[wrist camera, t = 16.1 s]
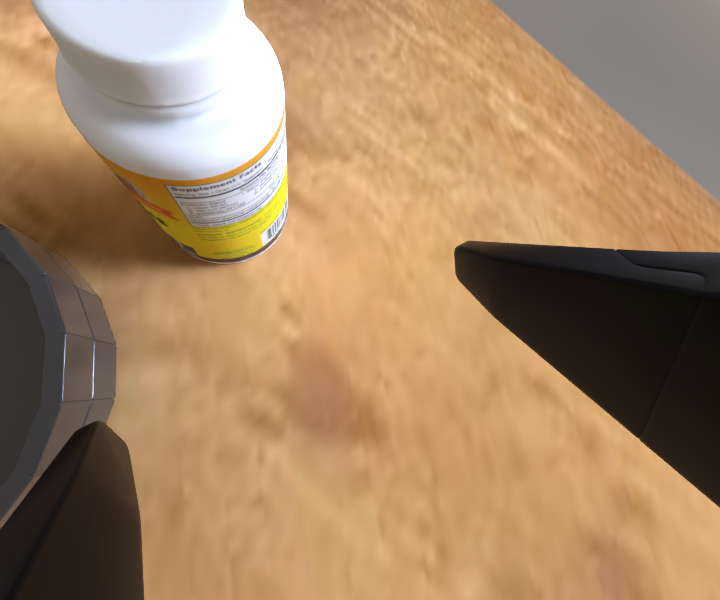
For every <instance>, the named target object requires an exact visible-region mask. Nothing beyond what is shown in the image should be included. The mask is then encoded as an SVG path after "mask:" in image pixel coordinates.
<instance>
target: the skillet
mask: <svg viewBox="0 0 720 600" xmlns="http://www.w3.org/2000/svg"><path fill="white" fill-rule="evenodd" d="M115 381H116V342H115V339H114V336H113V333H112V330H111V328H110V325H109V322H108V319H107V316H106V314H105V311H104V308H103V305H102V302H101V299H100V298H99V296H98V295H97V294H96V293H95V291H94V290H93V289H92V288H91V287H90V286H89V284H88V283H87V282H86V281H85V280H84V279H83V277H82V276H81V275H80V274H79V273H78V272H77V270H76V269H75V268H74V267H73V266H72V265H71V263H70V262H69V261H67V259H65V258H63V257H61V256H60V255H58V254H56V253H54V252H53V251H51V250H49V249H47V248H46V247H44V246H42V245H41V244H39V243H37V242H35V241H34V240H32V239H30V238H28V237H27V236H25V235H23V234H21V233H19V232H18V231H16V230H14V229H12V228H11V227H9V226H7V225H5V224H3V223H2V222H0V529H1V528H2V526H3V525H4V524H5V523H6V521H7V520H8V519H9V517H10V516H11V515H12V513H13V512H14V511H15V509H16V508H17V507H18V505H19V504H20V503H21V502H22V500H23V499H24V498H25V496H26V495H27V494H28V492H29V491H30V490H31V488H32V487H33V486H34V485H35V483H36V482H37V481H38V479H39V478H40V477H41V475H42V474H43V473H44V471H45V470H46V469H47V467H48V466H49V465H50V464H51V462H52V461H53V460H54V458H55V457H56V456H57V454H58V453H59V452H60V450H61V449H62V448H63V446H64V445H65V444H66V443H67V441H68V440H69V439H70V437H71V436H72V435H73V433H74V432H75V431H76V430H78V429H80V428H82V427H84V426H86V425H88V424H90V423H92V422H94V421H102V422H104V423H105V424H106V422H107V420H108V417H109V414H110V411H111V408H112V406H113V403H114V399H113V398H115Z"/></svg>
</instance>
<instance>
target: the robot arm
mask: <svg viewBox="0 0 720 600" xmlns="http://www.w3.org/2000/svg"><path fill="white" fill-rule="evenodd" d="M454 256H455V272H456V276H457V278H458V280H459V281H460V282H461V283H462V284H463V285H464V286H465V288H466V289H467V290H468V291H469V292H470V293H471V294H472V295H473V296H474V297H475V298H476V299H477V300H478V301H479V302H480V303H481V304H482V305H483V306H484V307H485V308H486V309H487V310H488V312H490V313H491V314H492V315H493V316H494V317H495V318H496V319H497V320H498V321H499V322H500V323H501V324H503V325H504V326H505V327H506V328H507V329H509V330H510V331H511V332H512V333H513V334H515V335H516V336H517V337H518V338H519V339H520V340H522V341H523V342H524V343H525V344H526V345H528V346H529V347H530V348H531V349H532V350H534V351H535V352H536V353H537V354H538V355H539V356H541V357H542V358H543V359H544V360H545V361H547V362H548V363H549V364H550V365H551V366H553V367H554V368H555V369H556V370H557V371H558V372H560V373H561V374H562V375H563V376H564V377H566V378H567V379H568V380H569V381H570V382H572V383H573V384H574V385H575V386H576V387H578V388H579V389H580V390H581V391H582V392H583V393H585V394H586V395H587V396H588V397H589V398H591V399H592V400H593V401H594V402H595V403H597V404H598V405H599V406H600V407H601V408H602V409H604V410H605V411H606V412H607V413H608V414H610V415H611V416H612V417H613V418H614V419H616V420H617V421H618V422H619V423H620V424H621V425H623V426H624V427H625V428H626V429H627V430H629V431H630V432H631V433H632V434H633V435H635V436H636V437H637V438H640V441H641V442H643V443H644V444H645V445H646V446H647V447H648V448H650V449H651V450H652V451H653V452H654V453H656V454H657V455H658V456H659V457H660V458H662V459H663V460H664V461H665V462H666V463H668V464H669V465H670V466H671V467H672V468H673V469H675V470H676V471H677V472H678V473H679V474H681V475H682V476H683V477H684V478H685V479H687V480H688V481H689V482H690V483H691V484H692V485H694V486H695V487H696V488H697V489H698V490H700V491H701V492H702V493H703V494H704V495H706V496H707V497H708V498H709V499H710V500H711V501H713V502H714V503H715V504H716V505H717V506H719V507H720V253H710V252H661V251H639V250H621V249H617V250H616V251H615V250H614V249H602V248H585V247H568V246H550V245H533V244H516V243H498V242H481V241H467V242H465V243H463V244H461V245H459V246H457V247H456V248H455V251H454ZM0 600H144V585H143V562H142V539H141V521H140V512H139V505H138V500H137V494H136V488H135V483H134V477H133V471H132V466H131V460H130V454H129V450H128V447H127V445H126V443H125V442H124V441H123V440H122V439H121V438H120V437H119V436H118V435H117V434H116V433H115V432H114V431H113V430H112V429H110V428H109V427H108V426H107V425H106V424H105V423H104V422H102V421H94V422H92V423H90V424H88V425H86V426H84V427H82V428H80V429H78V430H76V431H75V432H74V433H73V435H72V436H71V437H70V439H69V440H68V441H67V443H66V444H65V445H64V446H63V448H62V449H61V450H60V452H59V453H58V454H57V456H56V457H55V458H54V460H53V461H52V462H51V464H50V465H49V466H48V467H47V469H46V470H45V471H44V473H43V474H42V475H41V477H40V478H39V479H38V481H37V482H36V483H35V485H34V486H33V487H32V488H31V490H30V491H29V492H28V494H27V495H26V496H25V498H24V499H23V500H22V502H21V503H20V504H19V505H18V507H17V508H16V509H15V511H14V512H13V513H12V515H11V516H10V517H9V519H8V520H7V521H6V523H5V524H4V525H3V526H2V528H1V529H0Z"/></svg>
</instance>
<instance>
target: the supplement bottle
mask: <svg viewBox="0 0 720 600" xmlns="http://www.w3.org/2000/svg"><path fill="white" fill-rule="evenodd" d="M31 1H32V4H33V6H34V8H35V10H36V12H37V14H38V16H39V17H40V19H41V20H42V22H43V23H44V25H45V26H46V28H47V29H48V31H49V32H50V34H51V35H52V37H53V38H54V40H55V41H56V43H57V45H58V48H59V50H58V54H57V59H56V69H55V70H56V82H57V89H58V93H59V96H60V99H61V102H62V105H63V107H64V109H65V111H66V113H67V115H68V116H69V118H70V120H71V122H72V123H73V124H74V126H75V127H76V128H77V130H78V131H79V132H80V133H81V135H82V136H83V137H84V139H85V140H86V141H87V142H88V143H89V145H90V146H91V147H92V148H93V149H94V150H95V151H96V153H97V154H98V155H99V156H100V157H101V158H102V160H103V161H104V162H105V163H106V164H107V165H108V167H109V168H110V169H111V170H112V171H113V172H114V173H115V175H116V176H117V177H118V178H119V179H120V180H121V182H122V183H123V184H124V185H125V186H126V187H127V189H128V190H129V191H130V192H131V193H132V194H133V195H134V197H135V198H136V199H137V200H138V202H139V203H140V204H141V205H142V206H143V207H144V208H145V210H146V211H147V212H148V213H149V214H150V215H151V216H152V217H153V219H154V220H155V221H156V222H157V223H158V224H159V226H160V227H161V228H162V229H163V230H164V231H165V233H166V234H167V235H168V236H169V237H170V238H171V239H172V240H173V241H174V242H175V243H176V244H177V245H178V246H179V247H180V248H181V249H183V250H184V251H185V252H187V253H188V254H190V255H192V256H194V257H196V258H198V259H201V260H203V261H207V262H211V263H217V264H234V263H240V262H244V261H247V260H250V259H253V258H255V257H257V256H259V255H260V254H262V253H263V252H265V251H266V250H267V249H269V248H270V247H271V246H272V245H273V244H274V243H275V242H276V240H277V239H278V238H279V236H280V235H281V233H282V231H283V229H284V226H285V223H286V220H287V214H288V180H287V150H286V119H285V94H284V85H283V78H282V72H281V68H280V66H279V62H278V60H277V57H276V55H275V53H274V51H273V49H272V47H271V46H270V44H269V43H268V41H267V40H266V38H265V37H264V35H263V34H262V33H261V31H260V30H259V29H258V28H257V27H256V26H255V25H254V24H253V23H252V22H251V21H250V20H249V19H247V18H246V17H245V12H244V5H243V0H31Z"/></svg>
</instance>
